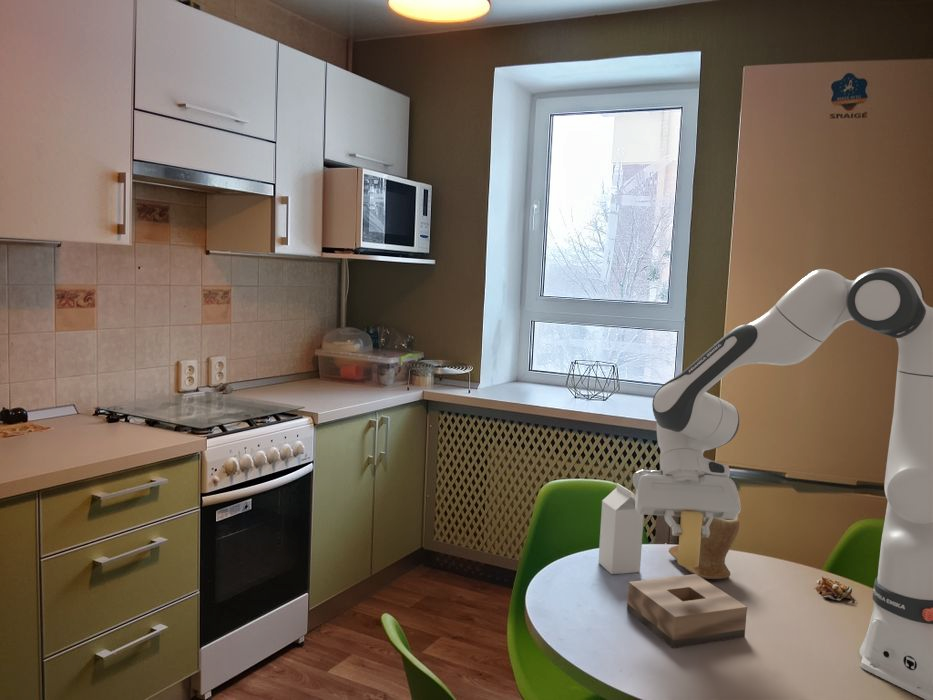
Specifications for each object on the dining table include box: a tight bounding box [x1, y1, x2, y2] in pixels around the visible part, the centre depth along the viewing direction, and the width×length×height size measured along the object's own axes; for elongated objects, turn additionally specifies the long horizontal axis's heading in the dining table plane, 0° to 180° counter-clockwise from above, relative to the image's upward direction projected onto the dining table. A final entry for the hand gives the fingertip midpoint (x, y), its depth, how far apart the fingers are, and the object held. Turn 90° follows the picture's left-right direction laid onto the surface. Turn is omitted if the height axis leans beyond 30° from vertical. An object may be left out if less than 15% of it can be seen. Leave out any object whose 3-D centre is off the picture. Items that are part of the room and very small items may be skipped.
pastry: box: [814, 575, 858, 604], centre depth 174 cm, size 7×12×4 cm, turn 175°
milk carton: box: [598, 482, 645, 575], centre depth 181 cm, size 7×7×19 cm
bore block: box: [626, 573, 748, 649], centre depth 155 cm, size 16×16×6 cm
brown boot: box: [668, 516, 740, 580], centre depth 182 cm, size 15×12×15 cm
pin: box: [676, 510, 703, 568], centre depth 154 cm, size 4×4×10 cm
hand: (691, 535), depth 153 cm, fingers closed on pin, 4 cm apart
